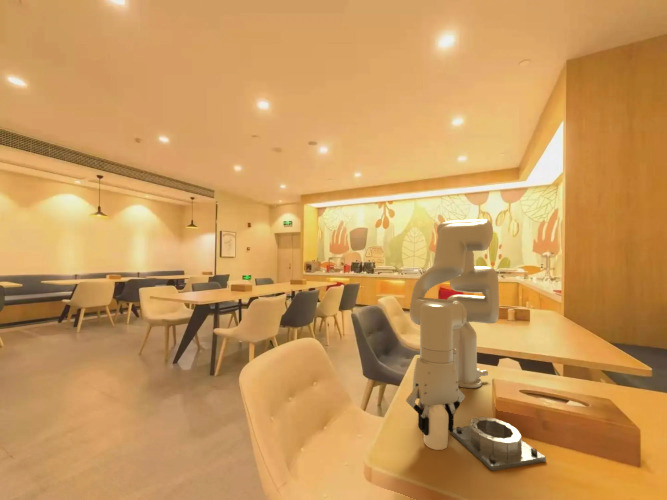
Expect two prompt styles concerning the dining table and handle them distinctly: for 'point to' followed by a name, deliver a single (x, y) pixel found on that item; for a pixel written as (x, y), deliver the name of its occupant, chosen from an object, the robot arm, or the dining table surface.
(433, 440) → the white pointed cylinder
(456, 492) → the dining table surface
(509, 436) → the flange
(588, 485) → the dining table surface
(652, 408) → the dining table surface
